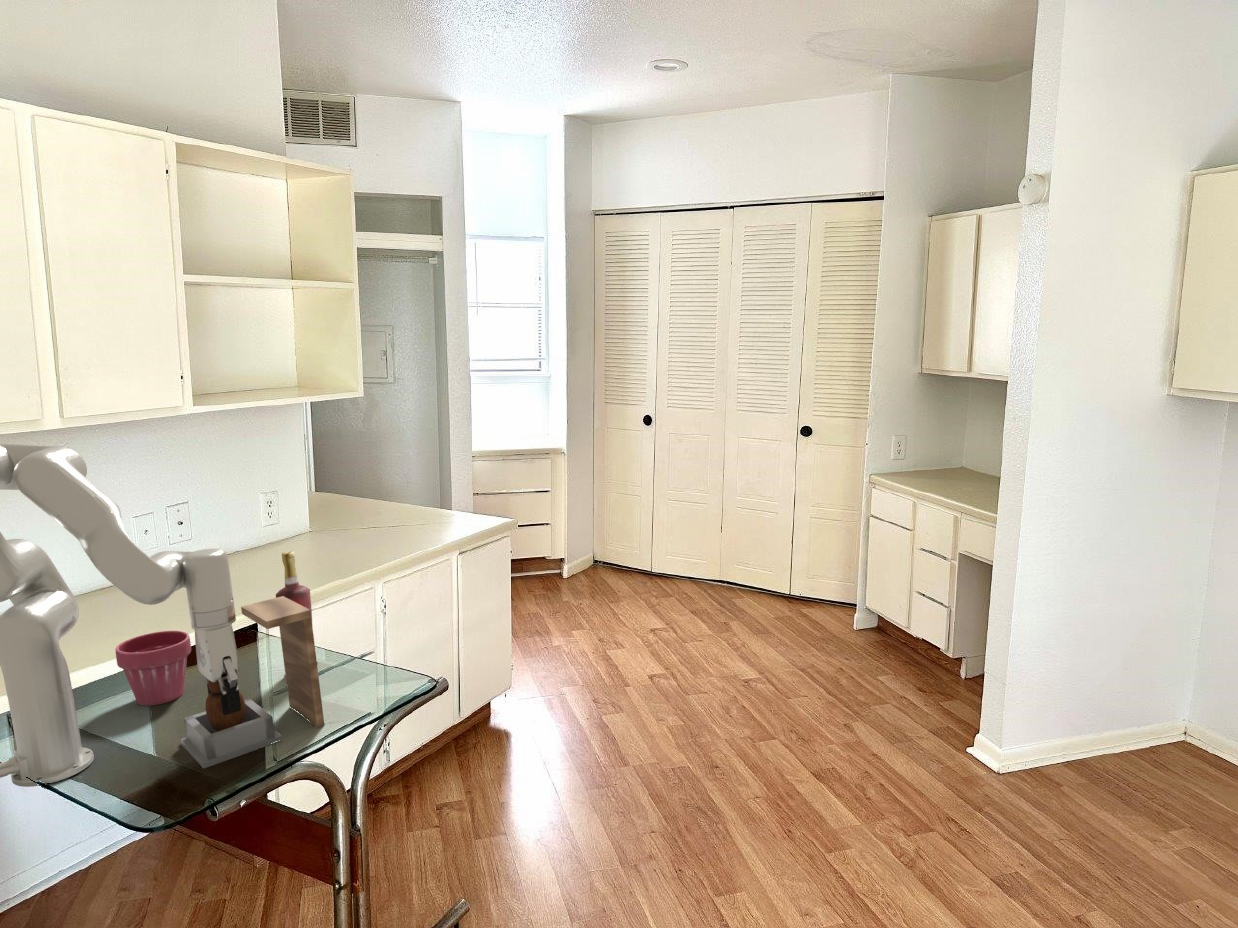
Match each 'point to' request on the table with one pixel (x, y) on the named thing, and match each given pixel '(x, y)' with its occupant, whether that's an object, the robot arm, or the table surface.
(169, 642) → the plant pot
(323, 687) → the table surface
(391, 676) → the table surface
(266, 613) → the wooden l-shaped stand
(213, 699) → the wooden figurine
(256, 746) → the socket
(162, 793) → the table surface
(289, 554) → the liquor
